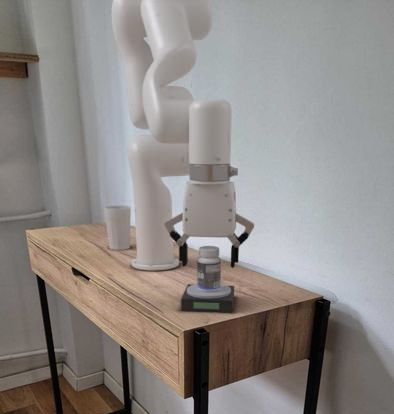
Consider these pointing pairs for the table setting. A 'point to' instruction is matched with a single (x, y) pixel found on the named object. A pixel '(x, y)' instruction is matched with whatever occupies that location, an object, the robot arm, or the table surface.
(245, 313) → the table surface
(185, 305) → the scale
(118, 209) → the cup
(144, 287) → the table surface
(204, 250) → the pill bottle
